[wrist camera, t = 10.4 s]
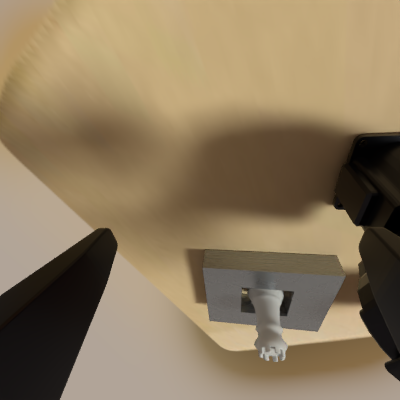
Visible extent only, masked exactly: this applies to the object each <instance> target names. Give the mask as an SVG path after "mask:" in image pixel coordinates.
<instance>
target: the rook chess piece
mask: <svg viewBox="0 0 400 400" xmlns="http://www.w3.org/2000/svg"><path fill="white" fill-rule="evenodd" d="M247 289H248V297H249V298H250V300H251V301H252V302H251V303H252V304H253V306H254V308H255V313H256V318H257V326H256V331H257V332H258V338H257V339H256V341H255V344H254V345H255V347H256V348H257V349H258V352H259V357H260V358H263V357H264V360H267V361H268V360H269V356H273V361H274V362H276V361H278V357H277V356H279V357H280V360H284V359H285V351H286V350H287V347H288V345H287V344H286V343H285V341H284V340H283V339H282V336H281V334H282V332H283V329H282V327H281V326H280V305H281V303H282V302H281V301H282V300H283V297H284V292H283V291H282V290H268V289H255V288H247Z"/></svg>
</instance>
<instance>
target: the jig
mask: <svg viewBox="0 0 400 400" xmlns="http://www.w3.org/2000/svg"><path fill="white" fill-rule="evenodd" d="M203 275H204V283H205V290H206V298H207V305H208V312H209V320H210V321H217V322H227V323H237V324H247V325H256V326H257V318H256V313H255V308H254V306H253V304H252V303H251V302H252V301H251V300H250V298H249V297H248V294H242V288H255V289H268V290H282V291H285V294H284V297H283V300H282V301H281V302H282V303H281V305H280V326H281V327H282V328H286V329H296V330H306V331H316V332H318V330H319V328H320V326H321V324H322V322H323V320H324V318H325V316H326V314H327V312H328V310H329V308H330V307H331V305H332V303H333V301H334V299H335V297H336V295H337V293H338V291H339V289H340V287H341V285H342V283H343V281H344V279H345V277H346V276H345V273H344V271H343V269H342V266H341V264H340V262H339V260H338V257H337V256H331V255H310V254H289V253H268V252H247V251H226V250H205V254H204V261H203Z"/></svg>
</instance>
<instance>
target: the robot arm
mask: <svg viewBox="0 0 400 400" xmlns="http://www.w3.org/2000/svg"><path fill="white" fill-rule="evenodd" d="M363 140H365V142H364V143H363V144H361V145H359V144H360V142H361V141H363ZM334 192H335V197H334V200H333V205H334V207H335V208H336V209H338V210H346V212H347V214H348V215H349V217H350V219H351V220H352V222H353V223H354V224H355V225H356V226H361V227H362V228H363V230H364V231H365V232H364V234H363V236H362V239H361V241H360V243H359V252H360V255H361V258H362V261H361V262H360V263H359V264H358V266H359V275H360V279H359V284H358V295H359V298H360V302H361V306H362V308H363V309H362V310H360V316H361V319H362V321H363V322H364V324H365V326H366V328H367V329H368V331H369V333H370V334H371V335H372V337H373V338H374V339H375V341H376V342H377V343H378V345H379V346H380V348H381V349H382V350H383V351H384V352H385V353H386V354H387V355H388V356H389V357H390V358H391V359H392V360H391V361H388V362H386V363H385V368H386V369H387V371H388V372H389V373H391V374H392V375H393V376H394V377H395V378H397V379H398V380H399V381H400V133H390V134H363V135H359V136H358V137H356V138H355V139H354V141H353V144H352V147H351V150H350V153H349V156H348V159H347V162H346V163H345V164H344V165H343V166H342V169H341V172H340V175H339V178H338V181H337V184H336V187H335V190H334ZM339 203H341V204H339ZM338 204H339V205H338ZM117 246H118V245H117V241H116V239H115V237H114V235H113V233H112V231H111V230H110V229H109V228H99V229H97V230H95V231H94V232H92V233H91V234H89V235H88V236H87V237H85V238H84V239H82V240H81V241H79V242H78V243H76V244H75V245H73V246H72V247H70V248H69V249H68V250H66V251H65V252H63V253H62V254H60V255H59V256H58V257H56V258H54V259H53V260H52V261H50V262H49V263H47V264H46V265H44V266H43V267H42V268H40V269H38V270H37V271H35V272H34V273H33V274H31V275H30V276H28V277H27V278H25V279H24V280H22V281H21V282H19V283H18V284H16V285H15V286H14V287H12V288H11V289H9V290H8V291H6V292H5V293H3V294H2V295H1V296H0V400H60V398H61V395H62V393H63V391H64V388H65V386H66V383H67V381H68V378H69V376H70V373H71V371H72V368H73V366H74V363H75V361H76V358H77V356H78V353H79V351H80V349H81V346H82V344H83V341H84V339H85V336H86V334H87V331H88V329H89V326H90V324H91V322H92V319H93V317H94V314H95V312H96V309H97V307H98V304H99V302H100V299H101V297H102V294H103V292H104V289H105V287H106V284H107V281H108V278H109V275H110V271H111V268H112V264H113V261H114V257H115V254H116V251H117Z"/></svg>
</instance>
